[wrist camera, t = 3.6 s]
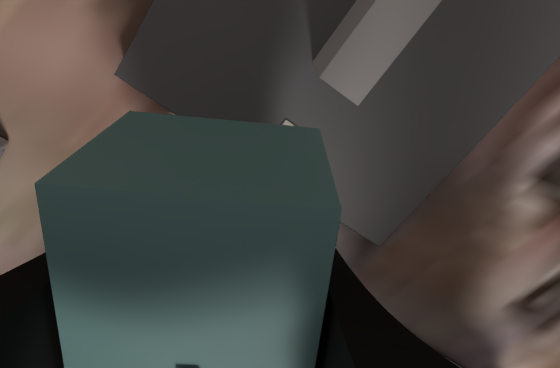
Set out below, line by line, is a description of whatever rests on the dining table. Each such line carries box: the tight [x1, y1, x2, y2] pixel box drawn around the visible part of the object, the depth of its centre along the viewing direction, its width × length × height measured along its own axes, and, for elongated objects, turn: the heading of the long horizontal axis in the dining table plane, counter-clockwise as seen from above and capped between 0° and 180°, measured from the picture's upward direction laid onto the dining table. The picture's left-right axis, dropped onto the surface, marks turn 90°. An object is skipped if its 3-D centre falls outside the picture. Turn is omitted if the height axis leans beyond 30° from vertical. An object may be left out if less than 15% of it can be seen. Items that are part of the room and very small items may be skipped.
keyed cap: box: [35, 111, 342, 368], centre depth 11 cm, size 5×8×5 cm
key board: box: [114, 0, 560, 247], centre depth 15 cm, size 14×14×5 cm
